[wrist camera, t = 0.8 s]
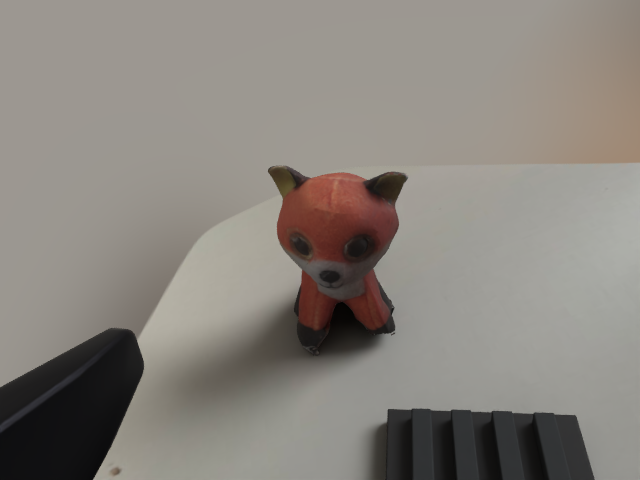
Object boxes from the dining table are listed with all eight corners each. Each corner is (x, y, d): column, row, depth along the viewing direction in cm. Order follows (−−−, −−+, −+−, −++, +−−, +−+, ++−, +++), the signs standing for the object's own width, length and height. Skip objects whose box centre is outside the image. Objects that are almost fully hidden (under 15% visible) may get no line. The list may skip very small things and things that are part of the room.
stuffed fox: (410, 255, 42) (407, 103, 35) (410, 372, 33) (407, 200, 26) (311, 255, 43) (289, 109, 36) (286, 368, 34) (250, 203, 27)
